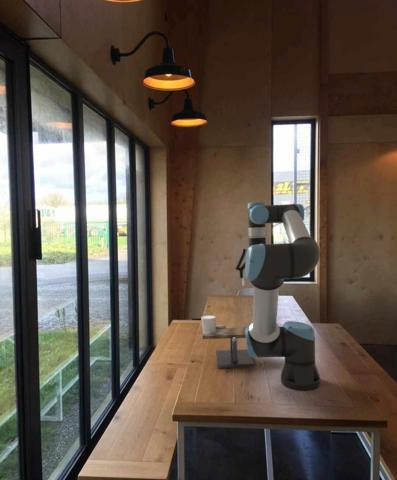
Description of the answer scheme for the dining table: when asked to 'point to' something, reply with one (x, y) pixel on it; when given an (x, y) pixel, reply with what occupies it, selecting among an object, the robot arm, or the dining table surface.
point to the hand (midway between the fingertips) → (258, 284)
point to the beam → (225, 333)
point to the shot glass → (208, 323)
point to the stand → (233, 357)
